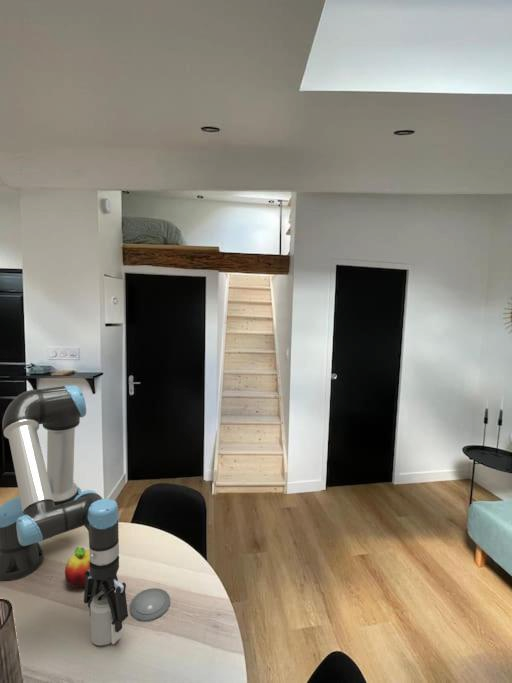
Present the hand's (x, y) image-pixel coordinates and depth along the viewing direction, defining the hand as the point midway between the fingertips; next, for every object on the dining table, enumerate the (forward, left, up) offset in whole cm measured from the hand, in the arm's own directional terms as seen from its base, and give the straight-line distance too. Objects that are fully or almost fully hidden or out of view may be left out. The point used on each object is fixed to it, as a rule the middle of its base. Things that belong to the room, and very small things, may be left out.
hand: (105, 633), depth 106 cm
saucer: (+3, +14, -1) cm, 14 cm away
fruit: (-24, +11, -1) cm, 26 cm away
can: (0, 0, -1) cm, 1 cm away
